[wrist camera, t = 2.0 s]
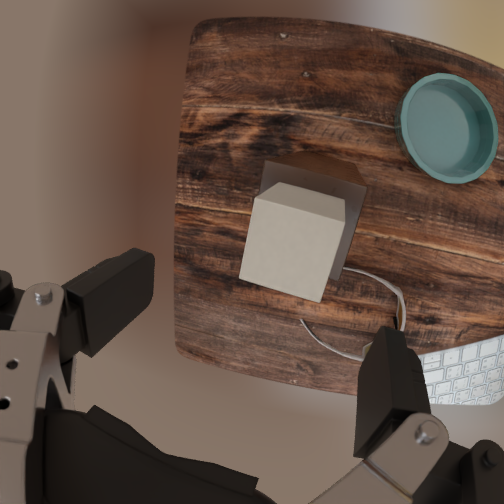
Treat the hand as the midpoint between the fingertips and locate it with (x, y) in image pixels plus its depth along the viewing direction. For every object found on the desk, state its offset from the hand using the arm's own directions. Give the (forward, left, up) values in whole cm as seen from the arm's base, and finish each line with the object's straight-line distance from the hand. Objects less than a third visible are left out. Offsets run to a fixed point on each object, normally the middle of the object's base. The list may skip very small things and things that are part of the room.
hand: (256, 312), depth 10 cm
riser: (0, 0, -34) cm, 34 cm away
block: (0, 0, -12) cm, 12 cm away
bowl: (-12, +14, -34) cm, 39 cm away
